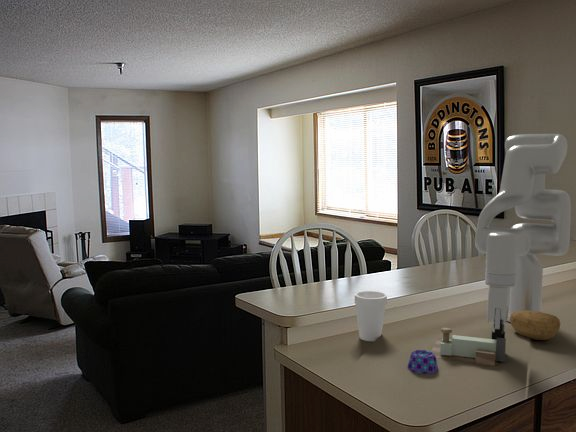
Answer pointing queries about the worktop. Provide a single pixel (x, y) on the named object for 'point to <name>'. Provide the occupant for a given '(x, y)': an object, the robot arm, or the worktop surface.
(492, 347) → the leg
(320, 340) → the worktop surface
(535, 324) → the potato
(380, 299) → the foam cup
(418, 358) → the purple spotted dome
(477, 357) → the stool seat
